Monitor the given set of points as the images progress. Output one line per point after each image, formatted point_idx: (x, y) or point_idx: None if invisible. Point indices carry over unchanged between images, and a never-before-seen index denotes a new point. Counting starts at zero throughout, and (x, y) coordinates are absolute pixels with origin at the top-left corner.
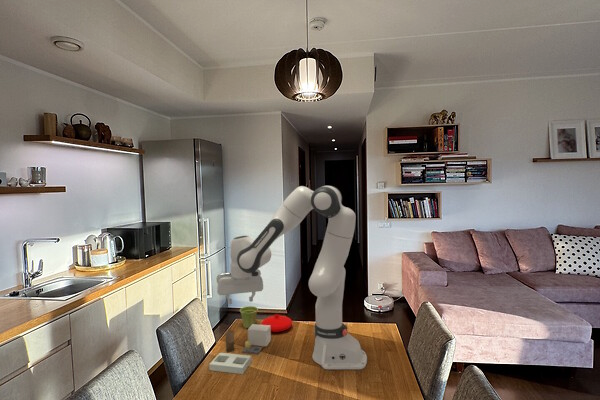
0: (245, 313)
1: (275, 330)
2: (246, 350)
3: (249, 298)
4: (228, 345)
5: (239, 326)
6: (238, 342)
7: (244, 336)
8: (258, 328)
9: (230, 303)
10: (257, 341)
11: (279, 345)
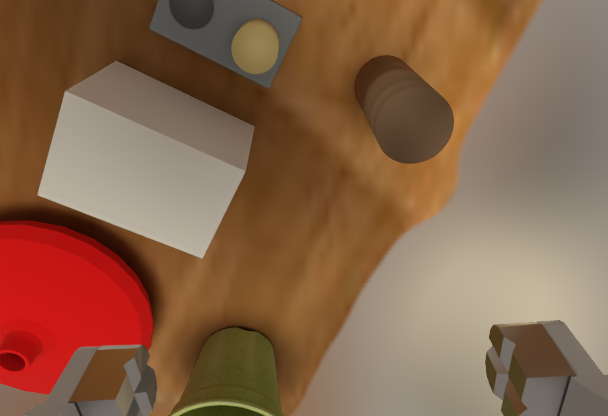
0: (253, 404)
1: (45, 225)
2: (270, 13)
3: (134, 412)
4: (408, 68)
5: (296, 358)
6: (317, 173)
7: (273, 240)
8: (146, 165)
9: (522, 323)
10: (179, 102)
11: (15, 48)
